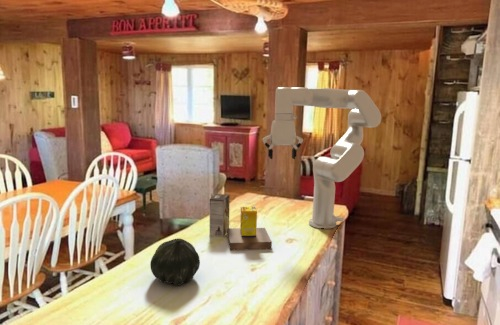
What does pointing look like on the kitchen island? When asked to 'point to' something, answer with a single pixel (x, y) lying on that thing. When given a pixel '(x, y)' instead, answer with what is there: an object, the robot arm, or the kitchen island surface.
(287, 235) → the kitchen island surface
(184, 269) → the squash
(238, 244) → the base
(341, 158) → the robot arm
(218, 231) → the coffee box
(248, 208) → the supplement box
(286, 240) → the kitchen island surface
